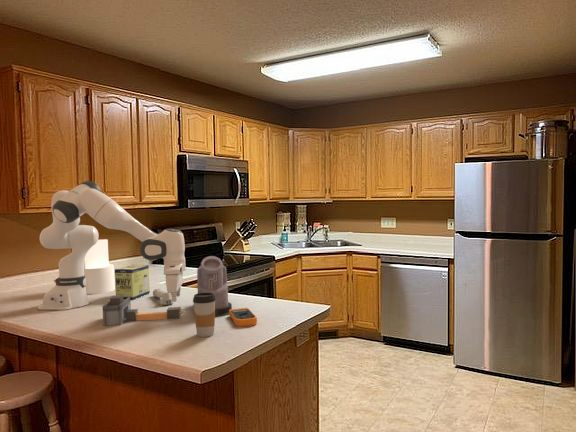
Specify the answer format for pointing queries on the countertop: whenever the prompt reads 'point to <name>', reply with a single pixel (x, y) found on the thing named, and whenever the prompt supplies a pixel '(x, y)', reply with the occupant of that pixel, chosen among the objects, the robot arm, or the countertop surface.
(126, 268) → the protein box
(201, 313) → the coffee cup
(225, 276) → the juicer
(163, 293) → the toothbrush head
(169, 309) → the wooden and grey bar
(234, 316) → the multimeter
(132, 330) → the countertop surface
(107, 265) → the cylinder
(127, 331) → the countertop surface
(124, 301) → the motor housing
